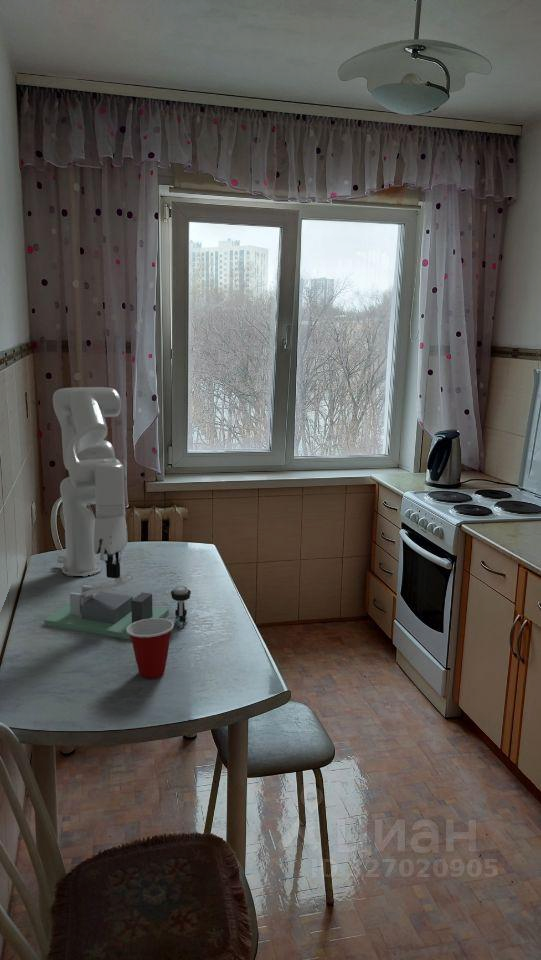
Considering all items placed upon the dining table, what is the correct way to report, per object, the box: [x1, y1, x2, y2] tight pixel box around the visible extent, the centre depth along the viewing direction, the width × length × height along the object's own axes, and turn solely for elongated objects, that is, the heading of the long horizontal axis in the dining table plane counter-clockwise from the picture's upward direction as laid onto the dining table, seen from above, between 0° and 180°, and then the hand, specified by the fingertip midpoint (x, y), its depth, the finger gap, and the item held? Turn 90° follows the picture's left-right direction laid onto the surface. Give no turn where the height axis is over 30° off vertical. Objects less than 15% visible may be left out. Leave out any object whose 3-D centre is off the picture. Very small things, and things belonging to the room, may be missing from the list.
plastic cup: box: [126, 618, 175, 680], centre depth 162 cm, size 11×11×12 cm
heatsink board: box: [43, 584, 170, 641], centre depth 191 cm, size 28×18×8 cm, turn 72°
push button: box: [170, 585, 192, 629], centre depth 189 cm, size 7×5×10 cm
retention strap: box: [80, 571, 134, 598], centre depth 191 cm, size 17×4×2 cm, turn 71°
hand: (113, 576), depth 188 cm, fingers closed
